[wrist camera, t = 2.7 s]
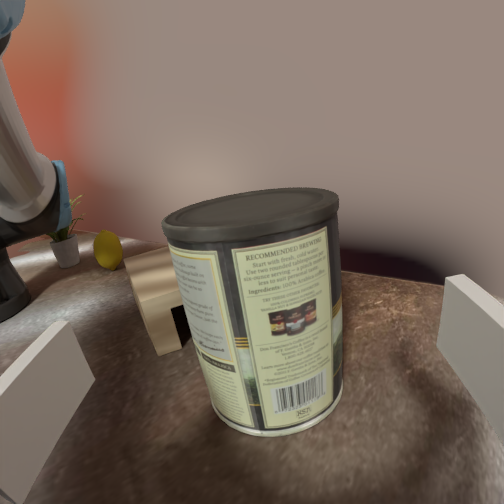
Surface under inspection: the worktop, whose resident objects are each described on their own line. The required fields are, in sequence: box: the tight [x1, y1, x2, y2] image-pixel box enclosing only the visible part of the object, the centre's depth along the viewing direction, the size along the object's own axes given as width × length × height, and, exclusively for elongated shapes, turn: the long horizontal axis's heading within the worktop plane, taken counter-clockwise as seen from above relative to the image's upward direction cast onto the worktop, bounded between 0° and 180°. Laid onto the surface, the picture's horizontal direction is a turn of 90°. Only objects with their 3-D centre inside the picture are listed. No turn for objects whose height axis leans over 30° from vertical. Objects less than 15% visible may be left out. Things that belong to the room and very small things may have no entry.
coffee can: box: [161, 188, 343, 437], centre depth 21 cm, size 10×10×14 cm
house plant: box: [46, 196, 83, 268], centre depth 63 cm, size 14×14×16 cm
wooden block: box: [123, 246, 183, 357], centre depth 38 cm, size 16×16×6 cm
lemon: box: [93, 230, 123, 271], centre depth 55 cm, size 6×6×8 cm
